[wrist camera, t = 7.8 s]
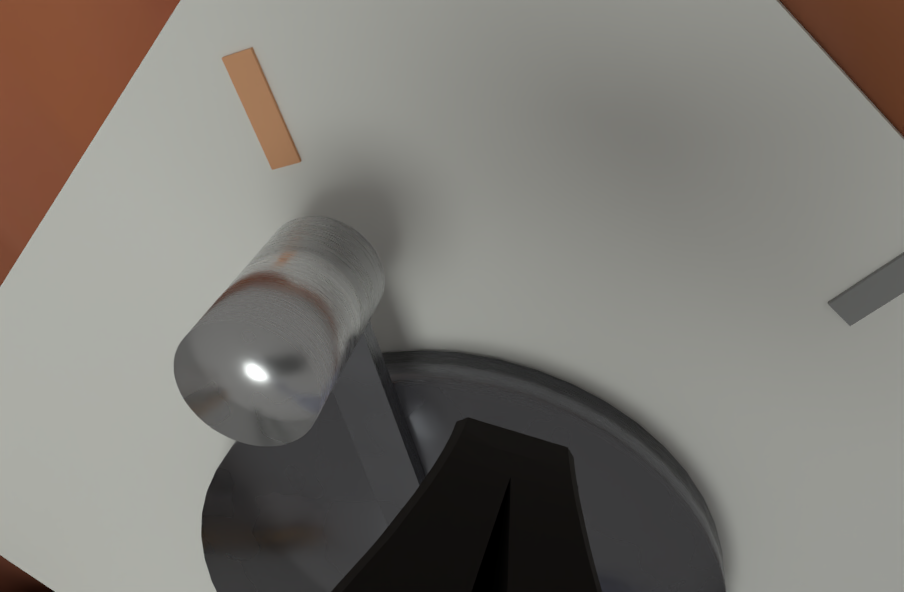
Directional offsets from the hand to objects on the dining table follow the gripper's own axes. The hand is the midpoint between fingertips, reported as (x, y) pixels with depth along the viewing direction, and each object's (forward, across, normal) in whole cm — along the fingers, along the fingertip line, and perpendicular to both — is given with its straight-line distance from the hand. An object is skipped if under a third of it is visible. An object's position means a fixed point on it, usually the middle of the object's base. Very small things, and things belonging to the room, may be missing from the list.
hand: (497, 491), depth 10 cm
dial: (+8, +1, +9) cm, 12 cm away
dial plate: (+9, 0, +10) cm, 14 cm away
